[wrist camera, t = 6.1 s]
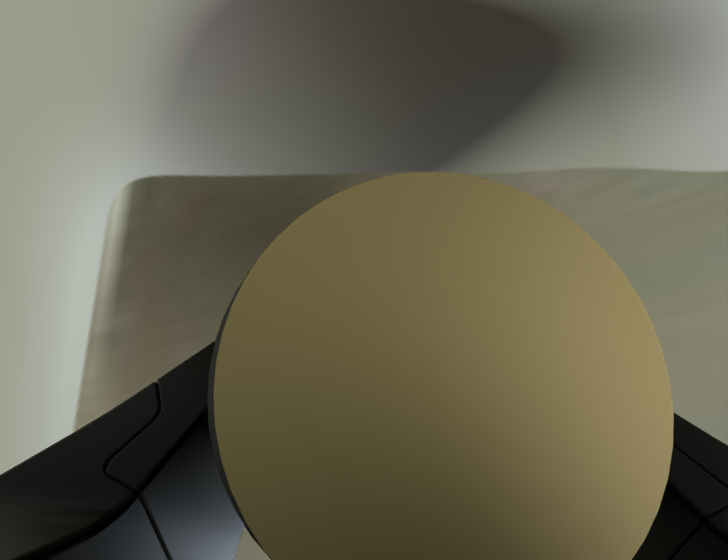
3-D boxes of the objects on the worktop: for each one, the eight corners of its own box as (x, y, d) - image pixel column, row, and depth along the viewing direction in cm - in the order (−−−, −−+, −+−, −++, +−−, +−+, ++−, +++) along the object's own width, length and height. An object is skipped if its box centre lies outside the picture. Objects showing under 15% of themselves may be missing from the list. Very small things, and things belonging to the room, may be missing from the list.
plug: (437, 446, 14) (869, 824, 2) (317, 441, 14) (39, 771, 2) (435, 327, 15) (700, 114, 3) (325, 322, 15) (181, 97, 3)
